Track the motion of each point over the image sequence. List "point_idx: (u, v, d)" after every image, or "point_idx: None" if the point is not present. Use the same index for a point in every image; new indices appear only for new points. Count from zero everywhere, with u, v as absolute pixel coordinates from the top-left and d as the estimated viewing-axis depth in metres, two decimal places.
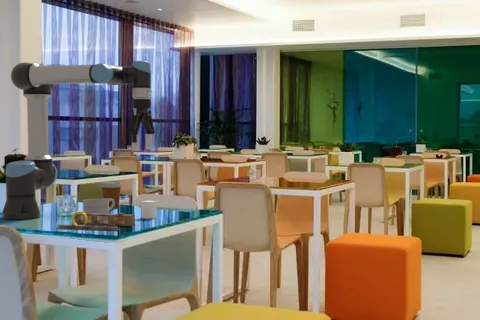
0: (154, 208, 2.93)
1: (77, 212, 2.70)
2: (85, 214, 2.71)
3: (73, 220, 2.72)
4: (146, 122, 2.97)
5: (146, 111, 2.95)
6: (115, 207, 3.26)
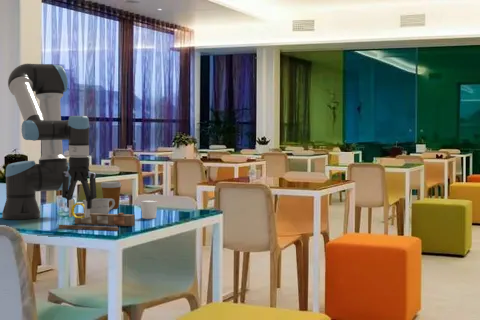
0: (154, 208, 2.93)
1: (76, 204, 2.70)
2: (84, 206, 2.71)
3: (72, 211, 2.72)
4: None
5: (82, 170, 2.69)
6: (115, 207, 3.26)
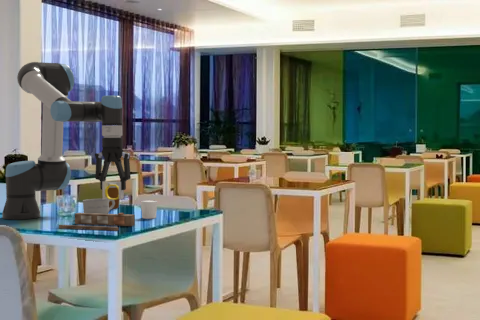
0: (154, 208, 2.93)
1: (110, 185, 2.65)
2: (118, 187, 2.66)
3: (106, 193, 2.67)
4: None
5: (116, 151, 2.65)
6: (115, 207, 3.26)
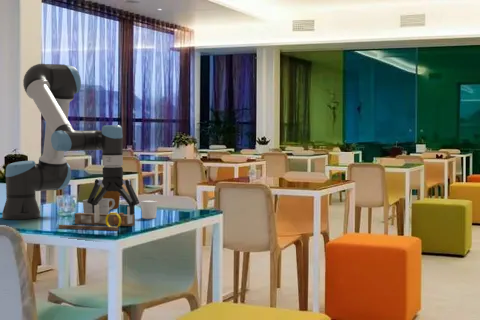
0: (154, 208, 2.93)
1: (111, 213, 2.66)
2: (119, 215, 2.67)
3: (106, 221, 2.68)
4: None
5: (116, 180, 2.65)
6: (115, 207, 3.26)
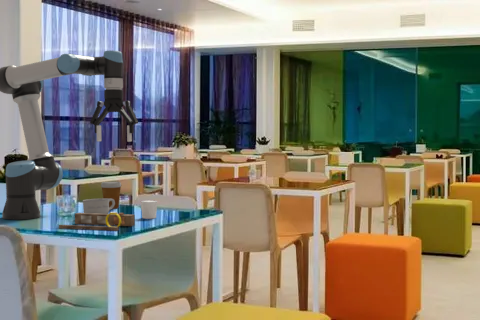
0: (154, 208, 2.93)
1: (111, 213, 2.66)
2: (119, 215, 2.67)
3: (106, 221, 2.68)
4: None
5: (117, 101, 2.87)
6: (115, 207, 3.26)
